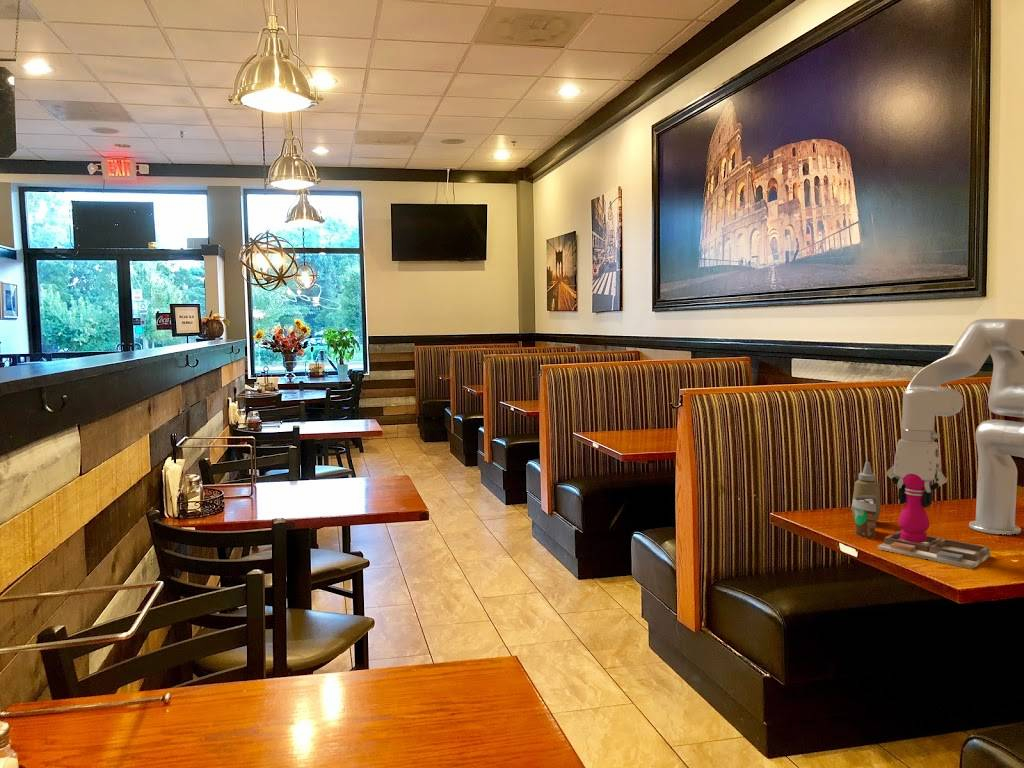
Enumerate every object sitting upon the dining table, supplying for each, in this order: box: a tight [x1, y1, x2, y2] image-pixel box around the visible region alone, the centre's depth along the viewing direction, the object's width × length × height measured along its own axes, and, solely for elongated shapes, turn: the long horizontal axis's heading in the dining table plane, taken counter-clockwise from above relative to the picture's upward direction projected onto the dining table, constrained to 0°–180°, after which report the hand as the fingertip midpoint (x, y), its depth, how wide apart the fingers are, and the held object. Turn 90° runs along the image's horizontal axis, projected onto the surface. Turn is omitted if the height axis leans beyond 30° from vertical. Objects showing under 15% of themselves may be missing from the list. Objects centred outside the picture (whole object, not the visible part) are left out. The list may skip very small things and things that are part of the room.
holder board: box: [877, 530, 992, 570], centre depth 198 cm, size 15×22×2 cm
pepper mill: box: [898, 474, 931, 542], centre depth 202 cm, size 7×7×20 cm
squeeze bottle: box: [850, 461, 882, 523], centre depth 229 cm, size 8×8×18 cm
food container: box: [851, 495, 877, 539], centre depth 216 cm, size 12×6×10 cm, turn 154°
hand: (914, 504), depth 202 cm, fingers closed on pepper mill, 5 cm apart
